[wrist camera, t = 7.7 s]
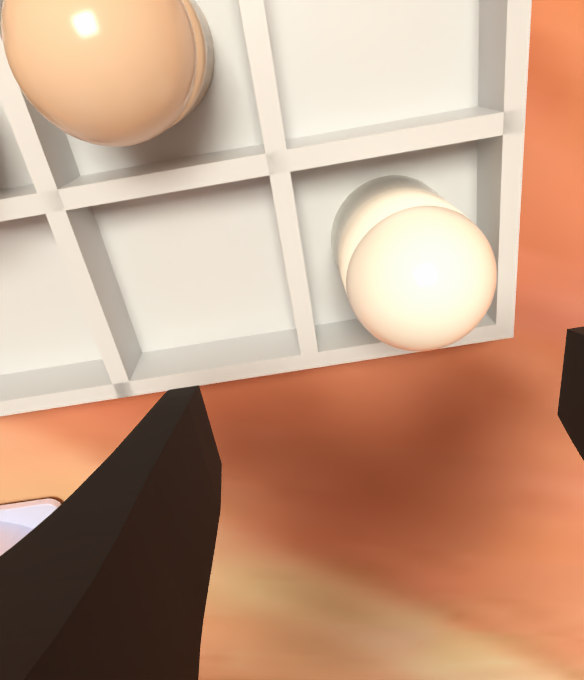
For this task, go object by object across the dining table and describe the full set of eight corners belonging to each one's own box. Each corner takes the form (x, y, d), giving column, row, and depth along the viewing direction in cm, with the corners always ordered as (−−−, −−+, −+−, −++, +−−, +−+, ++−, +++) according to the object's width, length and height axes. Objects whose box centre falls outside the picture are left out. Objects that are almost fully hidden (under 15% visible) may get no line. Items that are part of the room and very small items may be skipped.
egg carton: (486, 306, 20) (513, 337, 18) (-27, 386, 21) (-62, 425, 18) (498, -181, 13) (544, -230, 11) (-256, -30, 14) (-353, -46, 12)
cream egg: (448, 279, 19) (518, 366, 13) (338, 297, 19) (364, 389, 13) (446, 165, 17) (528, 214, 11) (323, 186, 17) (348, 243, 12)
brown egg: (227, 114, 16) (205, 142, 10) (100, 137, 16) (15, 176, 11) (195, -46, 14) (148, -111, 9) (51, -19, 14) (-82, -65, 9)
